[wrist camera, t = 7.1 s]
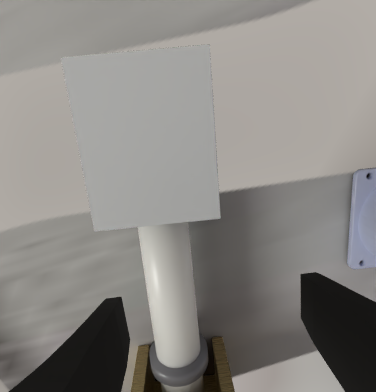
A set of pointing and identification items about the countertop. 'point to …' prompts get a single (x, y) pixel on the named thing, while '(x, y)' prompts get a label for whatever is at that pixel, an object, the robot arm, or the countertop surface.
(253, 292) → the countertop surface
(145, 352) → the socket
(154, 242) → the tube
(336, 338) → the robot arm
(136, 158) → the light grey block
